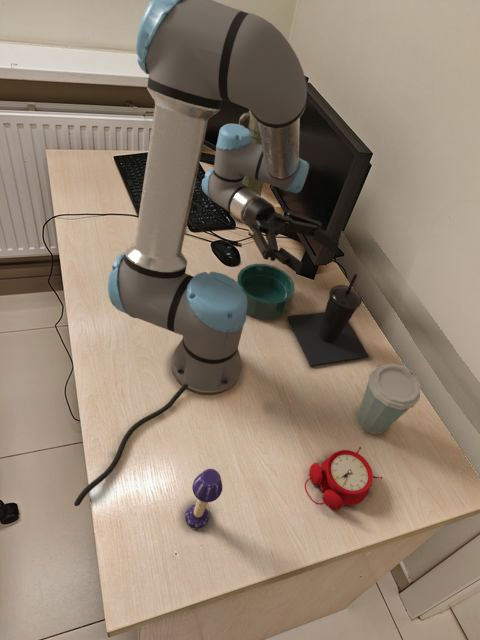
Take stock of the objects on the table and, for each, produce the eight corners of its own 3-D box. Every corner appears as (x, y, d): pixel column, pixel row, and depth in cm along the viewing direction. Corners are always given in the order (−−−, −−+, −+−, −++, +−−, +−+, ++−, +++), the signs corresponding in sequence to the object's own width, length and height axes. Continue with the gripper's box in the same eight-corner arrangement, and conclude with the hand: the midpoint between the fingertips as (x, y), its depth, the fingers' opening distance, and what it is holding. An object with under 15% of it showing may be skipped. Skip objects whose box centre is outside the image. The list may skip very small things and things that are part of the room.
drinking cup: (343, 349, 114) (374, 289, 99) (313, 344, 113) (340, 283, 98) (341, 327, 119) (370, 266, 104) (312, 322, 118) (337, 260, 103)
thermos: (221, 206, 144) (239, 87, 118) (257, 206, 148) (282, 91, 122) (228, 223, 139) (248, 103, 113) (265, 223, 143) (293, 107, 117)
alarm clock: (390, 482, 89) (337, 507, 80) (373, 497, 93) (320, 524, 84) (358, 438, 94) (305, 457, 85) (343, 454, 98) (290, 475, 89)
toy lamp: (211, 504, 83) (224, 461, 71) (213, 530, 80) (227, 491, 68) (184, 505, 82) (192, 463, 69) (185, 532, 79) (194, 492, 66)
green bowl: (286, 326, 116) (292, 309, 111) (228, 312, 115) (232, 294, 111) (291, 288, 126) (297, 271, 121) (238, 275, 125) (242, 258, 120)
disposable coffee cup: (368, 450, 97) (398, 411, 86) (337, 410, 102) (361, 369, 91) (402, 430, 102) (435, 391, 91) (371, 394, 107) (398, 353, 96)
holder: (367, 358, 114) (369, 356, 114) (310, 367, 109) (311, 365, 108) (341, 312, 123) (342, 310, 123) (286, 318, 118) (287, 316, 117)
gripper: (282, 209, 122) (344, 252, 115) (214, 239, 108) (280, 291, 101) (289, 183, 117) (355, 227, 110) (218, 212, 102) (288, 264, 95)
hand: (319, 258), depth 105 cm, fingers open, 13 cm apart
